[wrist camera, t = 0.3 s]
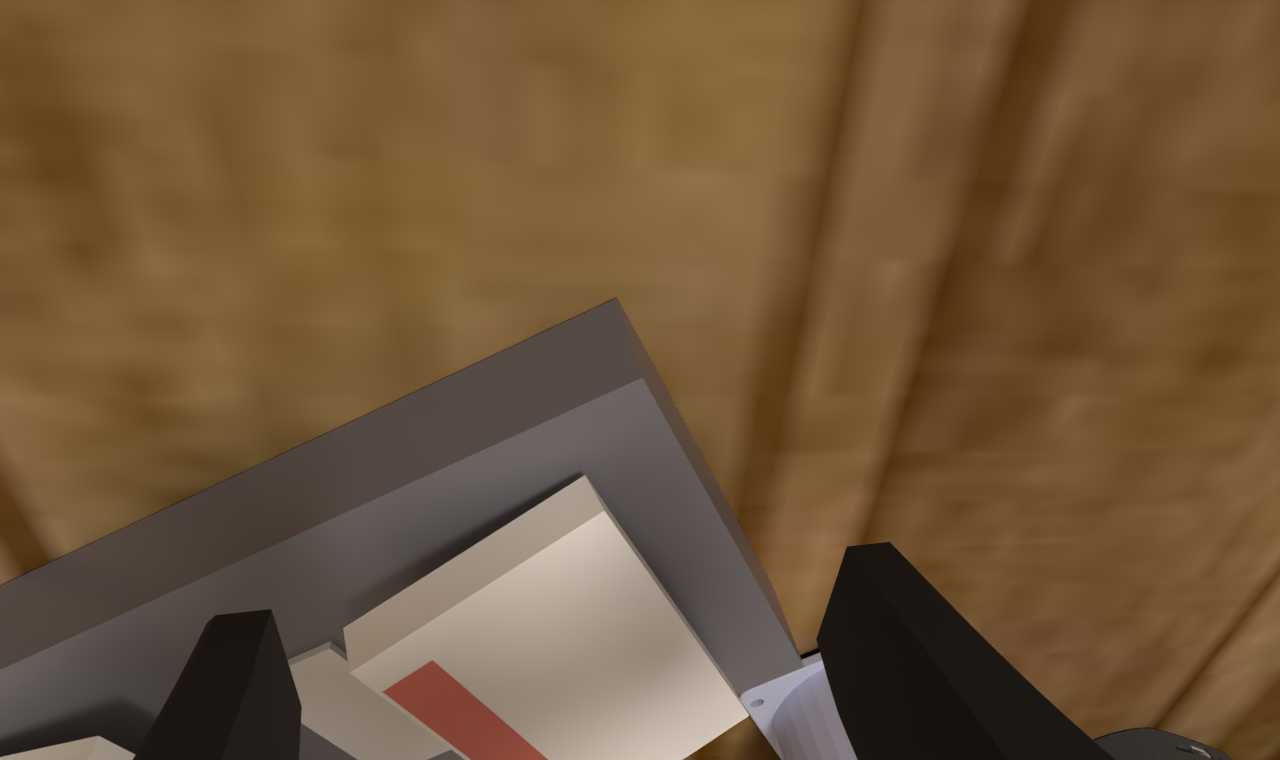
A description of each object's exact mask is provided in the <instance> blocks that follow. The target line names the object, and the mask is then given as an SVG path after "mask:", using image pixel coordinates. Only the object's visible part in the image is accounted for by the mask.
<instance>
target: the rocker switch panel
mask: <svg viewBox="0 0 1280 760" xmlns="http://www.w3.org/2000/svg"><path fill="white" fill-rule="evenodd" d="M584 475H585V476H586V477H587V478H588V480H589V481H590V483H591V484H592V486H593V487H594V488H595V490H596V491H597V493H598V494H599V496H600V497H601V498H602V500H603V501H604V503H605V504H606V506H607V507H608V508H609V510H610V511H611V513H612V514H613V516H614V517H615V519H616V520H617V521H618V523H619V524H620V526H621V527H622V529H623V530H624V531H625V533H626V534H627V536H628V537H629V539H630V540H631V541H632V543H633V544H634V546H635V547H636V549H637V550H638V551H639V553H640V554H641V556H642V557H643V559H644V560H645V561H646V563H647V564H648V566H649V567H650V569H651V570H652V571H653V573H654V574H655V576H656V577H657V579H658V580H659V581H660V583H661V584H662V586H663V587H664V589H665V590H666V591H667V593H668V594H669V596H670V597H671V599H672V600H673V601H674V603H675V604H676V606H677V607H678V609H679V610H680V611H681V613H682V614H683V616H684V617H685V619H686V620H687V621H688V623H689V624H690V626H691V627H692V629H693V630H694V631H695V633H696V634H697V636H698V637H699V639H700V640H701V641H702V643H703V644H704V646H705V647H706V649H707V650H708V651H709V653H710V654H711V656H712V657H713V659H714V660H715V661H716V663H717V664H718V666H719V667H720V669H721V670H722V671H723V673H724V674H725V676H726V677H727V679H728V680H729V681H730V683H731V685H732V687H733V688H734V690H735V692H736V693H737V694H739V693H741V692H744V691H746V690H748V689H751V688H753V687H756V686H758V685H761V684H763V683H766V682H768V681H771V680H773V679H775V678H778V677H780V676H783V675H785V674H788V673H790V672H793V671H795V670H798V669H800V668H802V667H804V665H803V662H802V660H801V657H800V655H799V652H798V650H797V647H796V644H795V642H794V639H793V637H792V634H791V632H790V629H789V626H788V624H787V621H786V619H785V616H784V614H783V611H782V609H781V606H780V603H779V601H778V598H777V596H776V593H775V591H774V588H773V586H772V584H771V582H770V580H769V578H768V577H767V575H766V573H765V571H764V569H763V567H762V566H761V564H760V562H759V560H758V558H757V556H756V554H755V553H754V551H753V549H752V547H751V545H750V543H749V541H748V540H747V538H746V536H745V534H744V532H743V530H742V528H741V527H740V525H739V523H738V521H737V519H736V517H735V515H734V514H733V512H732V510H731V508H730V506H729V504H728V502H727V501H726V499H725V497H724V495H723V493H722V491H721V490H720V488H719V486H718V484H717V482H716V480H715V478H714V477H713V475H712V473H711V471H710V469H709V467H708V465H707V464H706V462H705V460H704V458H703V456H702V454H701V452H700V451H699V449H698V447H697V445H696V443H695V441H694V439H693V438H692V436H691V434H690V432H689V430H688V428H687V426H686V425H685V423H684V421H683V419H682V417H681V415H680V414H679V412H678V410H677V408H676V406H675V404H674V402H673V401H672V399H671V397H670V395H669V393H668V391H667V389H666V388H665V386H664V384H663V382H662V380H661V378H660V376H659V375H658V373H657V371H656V369H655V367H654V365H653V363H652V362H651V360H650V358H649V356H648V354H647V352H646V351H645V349H644V347H643V345H642V343H641V341H640V339H639V338H638V336H637V334H636V332H635V330H634V328H633V326H632V325H631V323H630V321H629V319H628V317H627V315H626V313H625V312H624V310H623V308H622V306H621V304H620V302H619V300H618V299H617V298H615V299H613V300H611V301H609V302H606V303H604V304H602V305H600V306H598V307H596V308H594V309H591V310H589V311H587V312H585V313H583V314H581V315H579V316H576V317H574V318H572V319H570V320H568V321H566V322H564V323H561V324H559V325H557V326H555V327H553V328H551V329H549V330H547V331H544V332H542V333H540V334H538V335H536V336H534V337H532V338H529V339H527V340H525V341H523V342H521V343H519V344H517V345H514V346H512V347H510V348H508V349H506V350H504V351H502V352H499V353H497V354H495V355H493V356H491V357H489V358H487V359H484V360H482V361H480V362H478V363H476V364H474V365H472V366H469V367H467V368H465V369H463V370H461V371H459V372H457V373H455V374H452V375H450V376H448V377H446V378H444V379H442V380H440V381H437V382H435V383H433V384H431V385H429V386H427V387H425V388H422V389H420V390H418V391H416V392H414V393H412V394H410V395H407V396H405V397H403V398H401V399H399V400H397V401H395V402H392V403H390V404H388V405H386V406H384V407H382V408H380V409H378V410H375V411H373V412H371V413H369V414H367V415H365V416H363V417H360V418H358V419H356V420H354V421H352V422H350V423H348V424H345V425H343V426H341V427H339V428H337V429H335V430H333V431H330V432H328V433H326V434H324V435H322V436H320V437H318V438H315V439H313V440H311V441H309V442H307V443H305V444H303V445H300V446H298V447H296V448H294V449H292V450H290V451H288V452H286V453H283V454H281V455H279V456H277V457H275V458H273V459H271V460H268V461H266V462H264V463H262V464H260V465H258V466H256V467H253V468H251V469H249V470H247V471H245V472H243V473H241V474H238V475H236V476H234V477H232V478H230V479H228V480H226V481H223V482H221V483H219V484H217V485H215V486H213V487H211V488H208V489H206V490H204V491H202V492H200V493H198V494H196V495H194V496H191V497H189V498H187V499H185V500H183V501H181V502H179V503H176V504H174V505H172V506H170V507H168V508H166V509H164V510H161V511H159V512H157V513H155V514H153V515H151V516H149V517H146V518H144V519H142V520H140V521H138V522H136V523H134V524H131V525H129V526H127V527H125V528H123V529H121V530H119V531H116V532H114V533H112V534H110V535H108V536H106V537H104V538H102V539H99V540H97V541H95V542H93V543H91V544H89V545H87V546H84V547H82V548H80V549H78V550H76V551H74V552H72V553H69V554H67V555H65V556H63V557H61V558H59V559H57V560H54V561H52V562H50V563H48V564H46V565H44V566H42V567H39V568H37V569H35V570H33V571H31V572H29V573H27V574H25V575H22V576H20V577H18V578H16V579H14V580H12V581H10V582H7V583H5V584H3V585H1V586H0V757H3V756H8V755H12V754H17V753H21V752H26V751H31V750H35V749H40V748H44V747H49V746H53V745H58V744H63V743H67V742H72V741H76V740H81V739H85V738H90V737H95V736H100V737H102V738H104V739H106V740H108V741H110V742H112V743H114V744H116V745H118V746H120V747H122V748H123V749H125V750H127V751H129V752H131V753H133V754H135V755H136V753H137V752H138V750H139V748H140V747H141V745H142V743H143V741H144V740H145V738H146V736H147V734H148V733H149V731H150V729H151V727H152V726H153V724H154V722H155V720H156V719H157V717H158V715H159V713H160V711H161V710H162V708H163V706H164V704H165V703H166V701H167V699H168V697H169V695H170V693H171V692H172V690H173V688H174V686H175V684H176V682H177V681H178V679H179V677H180V675H181V673H182V671H183V669H184V667H185V665H186V663H187V662H188V660H189V658H190V656H191V654H192V652H193V650H194V648H195V646H196V644H197V642H198V640H199V638H200V636H201V634H202V632H203V630H204V628H205V626H206V624H207V622H208V621H209V620H211V619H212V618H213V617H214V616H215V615H221V614H230V613H239V612H249V611H258V610H267V609H272V613H273V616H274V619H275V622H276V625H277V629H278V632H279V635H280V638H281V641H282V645H283V648H284V651H285V654H286V657H287V661H288V664H289V667H290V670H291V673H292V677H293V680H294V683H295V686H296V689H297V693H298V696H299V699H300V702H301V705H302V712H301V730H300V748H299V760H465V759H463V758H462V757H461V756H459V755H458V754H457V753H455V752H454V751H453V750H451V749H450V748H449V747H447V746H446V745H445V744H443V743H442V742H441V741H439V740H438V739H437V738H435V737H434V736H433V735H431V734H430V733H429V732H427V731H426V730H425V729H423V728H422V727H421V726H420V725H418V724H417V723H416V722H414V721H413V720H412V719H410V718H409V717H408V716H406V715H405V714H404V713H402V712H401V711H400V710H398V709H397V708H396V707H394V706H393V705H392V704H390V703H389V702H388V701H386V700H385V699H384V698H382V697H381V696H380V695H378V694H377V693H376V692H374V691H373V690H372V689H371V688H369V687H368V686H367V685H365V684H364V683H363V682H361V681H360V680H359V679H357V678H356V677H355V676H353V675H352V674H351V673H350V671H349V664H348V658H347V651H346V644H345V638H344V631H343V628H344V627H346V626H347V625H349V624H351V623H352V622H354V621H355V620H357V619H358V618H360V617H362V616H363V615H365V614H366V613H368V612H369V611H371V610H373V609H374V608H376V607H377V606H379V605H381V604H382V603H384V602H385V601H387V600H388V599H390V598H392V597H393V596H395V595H396V594H398V593H399V592H401V591H403V590H404V589H406V588H407V587H409V586H410V585H412V584H414V583H415V582H417V581H418V580H420V579H422V578H423V577H425V576H426V575H428V574H429V573H431V572H433V571H434V570H436V569H437V568H439V567H440V566H442V565H444V564H445V563H447V562H448V561H450V560H452V559H453V558H455V557H456V556H458V555H459V554H461V553H463V552H464V551H466V550H467V549H469V548H470V547H472V546H474V545H475V544H477V543H478V542H480V541H482V540H483V539H485V538H486V537H488V536H489V535H491V534H493V533H494V532H496V531H497V530H499V529H500V528H502V527H504V526H505V525H507V524H508V523H510V522H512V521H513V520H515V519H516V518H518V517H519V516H521V515H523V514H524V513H526V512H527V511H529V510H530V509H532V508H534V507H535V506H537V505H538V504H540V503H542V502H543V501H545V500H546V499H548V498H549V497H551V496H553V495H554V494H556V493H557V492H559V491H560V490H562V489H564V488H565V487H567V486H568V485H570V484H571V483H573V482H575V481H576V480H578V479H579V478H581V477H583V476H584Z"/></svg>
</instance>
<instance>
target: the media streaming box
mask: <svg viewBox="0 0 1280 760" xmlns="http://www.w3.org/2000/svg"><path fill="white" fill-rule="evenodd" d="M1093 741H1094V742H1095V743H1097V744H1098V745H1099V746H1100V747H1101V748H1102V749H1103V750H1105V751H1106V752H1107V753H1108V754H1109V755H1110V756H1112V757H1113V758H1114V759H1115V760H1231V758H1230V757H1229V756H1228V755H1227V754H1225V753H1223V752H1221V751H1218V750H1216V749H1214V748H1212V747H1209V746H1207V745H1204V744H1202V743H1199V742H1196V741H1193V740H1190V739H1187V738H1184V737H1181V736H1178V735H1175V734H1171V733H1168V732H1164V731H1160V730H1156V729H1151V728H1142V729H1133V730H1127V731H1122V732H1118V733H1114V734H1111V735H1107V736H1104V737H1101V738H1099V739H1096V740H1093ZM1199 744H1200V745H1199ZM1202 745H1203V746H1202Z"/></svg>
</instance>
